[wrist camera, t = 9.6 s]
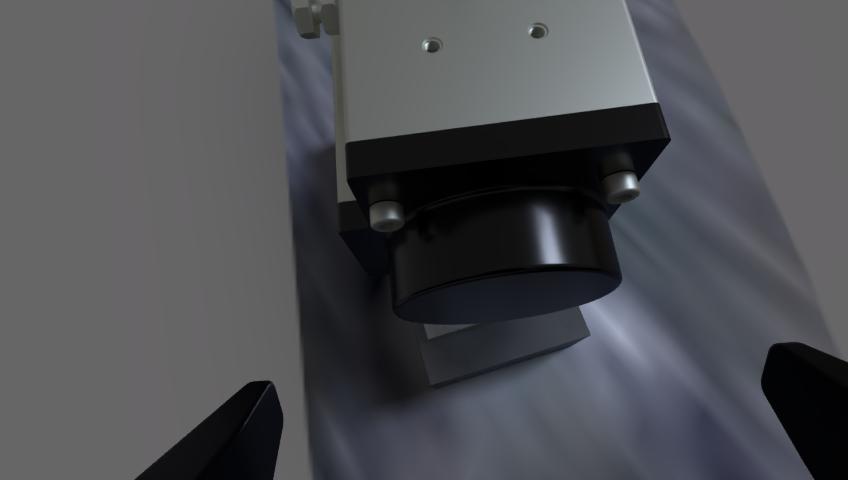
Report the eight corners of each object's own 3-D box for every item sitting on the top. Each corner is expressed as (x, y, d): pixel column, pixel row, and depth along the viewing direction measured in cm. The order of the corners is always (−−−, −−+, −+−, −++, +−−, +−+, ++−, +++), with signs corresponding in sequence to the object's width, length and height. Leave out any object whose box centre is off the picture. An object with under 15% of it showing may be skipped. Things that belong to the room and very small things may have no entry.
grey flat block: (572, 345, 20) (594, 332, 16) (435, 388, 19) (429, 384, 16) (461, 69, 25) (460, 17, 21) (352, 101, 25) (335, 54, 21)
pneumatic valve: (500, 70, 20) (548, -350, 9) (552, 342, 16) (755, 196, 5) (374, 87, 21) (268, -303, 9) (395, 359, 16) (251, 256, 5)
